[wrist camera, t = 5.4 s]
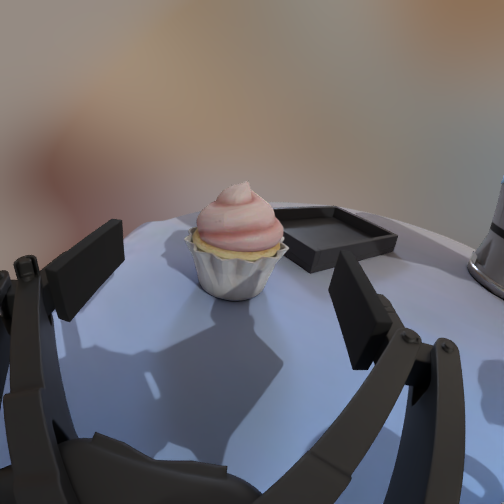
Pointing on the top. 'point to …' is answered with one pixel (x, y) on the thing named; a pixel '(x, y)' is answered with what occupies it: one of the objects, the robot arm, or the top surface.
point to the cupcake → (236, 244)
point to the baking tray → (330, 236)
